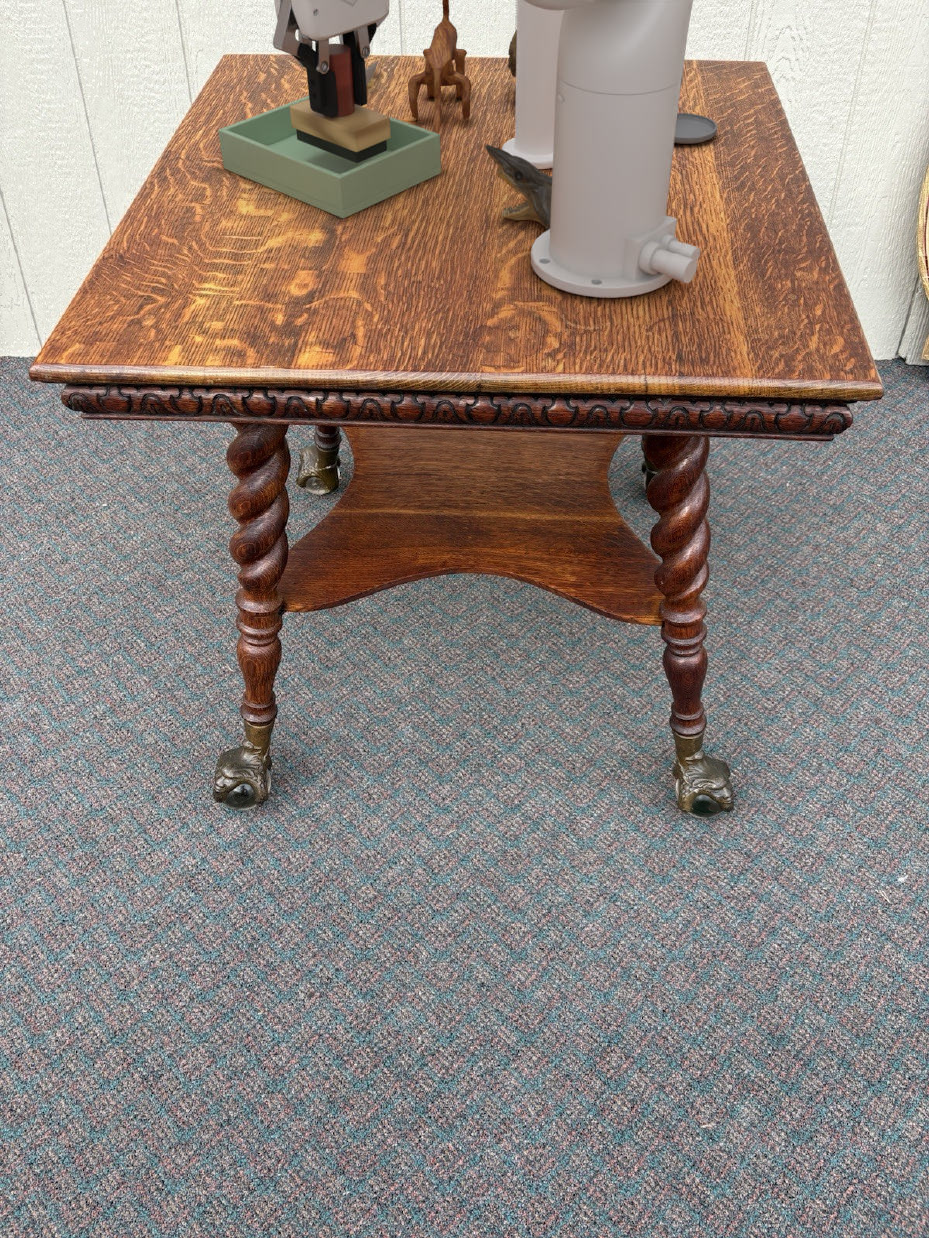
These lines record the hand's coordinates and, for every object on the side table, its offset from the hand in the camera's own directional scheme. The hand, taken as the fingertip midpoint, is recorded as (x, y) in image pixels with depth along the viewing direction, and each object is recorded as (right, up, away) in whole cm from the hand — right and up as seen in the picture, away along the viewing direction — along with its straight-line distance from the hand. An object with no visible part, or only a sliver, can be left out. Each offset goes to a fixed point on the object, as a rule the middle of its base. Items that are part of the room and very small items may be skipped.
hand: (339, 105), depth 107 cm
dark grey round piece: (+34, +2, +12) cm, 36 cm away
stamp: (0, -3, +3) cm, 4 cm away
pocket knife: (0, +11, +21) cm, 24 cm away
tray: (-1, -4, +6) cm, 7 cm away
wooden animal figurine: (+9, +5, +15) cm, 19 cm away
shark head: (+18, -12, -3) cm, 21 cm away
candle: (+19, -2, +8) cm, 21 cm away
